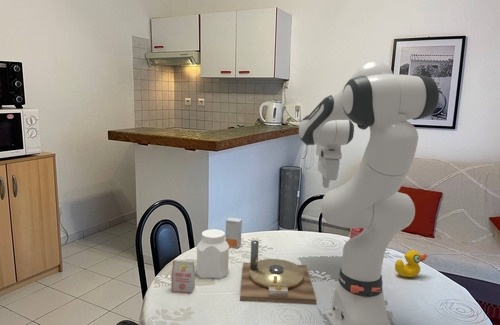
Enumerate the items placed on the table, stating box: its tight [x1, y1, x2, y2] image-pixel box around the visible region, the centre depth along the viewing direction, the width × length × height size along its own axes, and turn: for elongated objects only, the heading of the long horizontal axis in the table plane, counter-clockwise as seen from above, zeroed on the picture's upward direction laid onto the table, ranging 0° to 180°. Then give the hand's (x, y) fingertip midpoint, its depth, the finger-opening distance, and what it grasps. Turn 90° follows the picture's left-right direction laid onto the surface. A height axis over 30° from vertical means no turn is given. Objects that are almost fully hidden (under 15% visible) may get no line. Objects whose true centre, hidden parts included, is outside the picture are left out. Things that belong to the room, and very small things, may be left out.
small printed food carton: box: [171, 260, 196, 294], centre depth 118 cm, size 4×7×10 cm, turn 85°
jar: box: [196, 228, 230, 280], centre depth 131 cm, size 12×10×15 cm
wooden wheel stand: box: [239, 262, 317, 305], centre depth 125 cm, size 24×24×4 cm
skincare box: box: [225, 216, 243, 249], centre depth 155 cm, size 6×4×12 cm
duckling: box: [394, 249, 427, 278], centre depth 134 cm, size 11×5×10 cm, turn 96°
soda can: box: [349, 228, 364, 239], centre depth 156 cm, size 7×7×12 cm
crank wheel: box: [249, 239, 304, 289], centre depth 126 cm, size 19×19×12 cm
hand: (325, 187), depth 137 cm, fingers closed
